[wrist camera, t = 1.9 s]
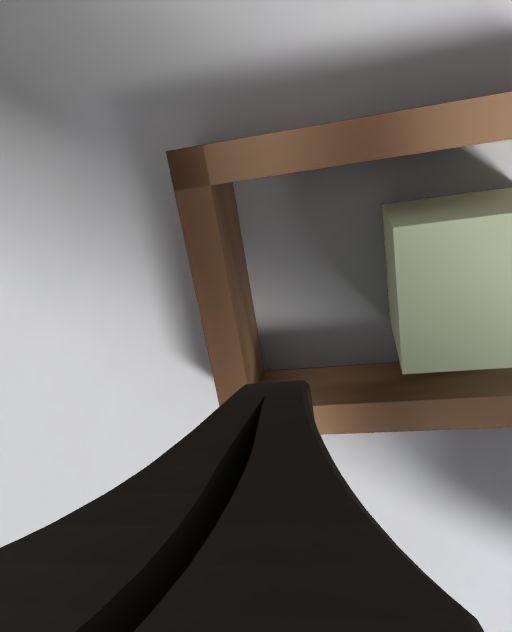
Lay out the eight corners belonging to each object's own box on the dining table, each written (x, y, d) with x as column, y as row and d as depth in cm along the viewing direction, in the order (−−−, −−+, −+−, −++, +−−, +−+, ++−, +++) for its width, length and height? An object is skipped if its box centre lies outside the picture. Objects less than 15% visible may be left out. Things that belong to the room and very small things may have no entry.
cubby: (582, 80, 15) (636, 69, 12) (565, 379, 18) (604, 423, 16) (193, 147, 18) (165, 151, 15) (241, 397, 21) (226, 438, 18)
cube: (518, 185, 16) (575, 204, 12) (515, 310, 18) (566, 364, 14) (381, 204, 17) (392, 227, 13) (389, 320, 19) (402, 374, 15)
